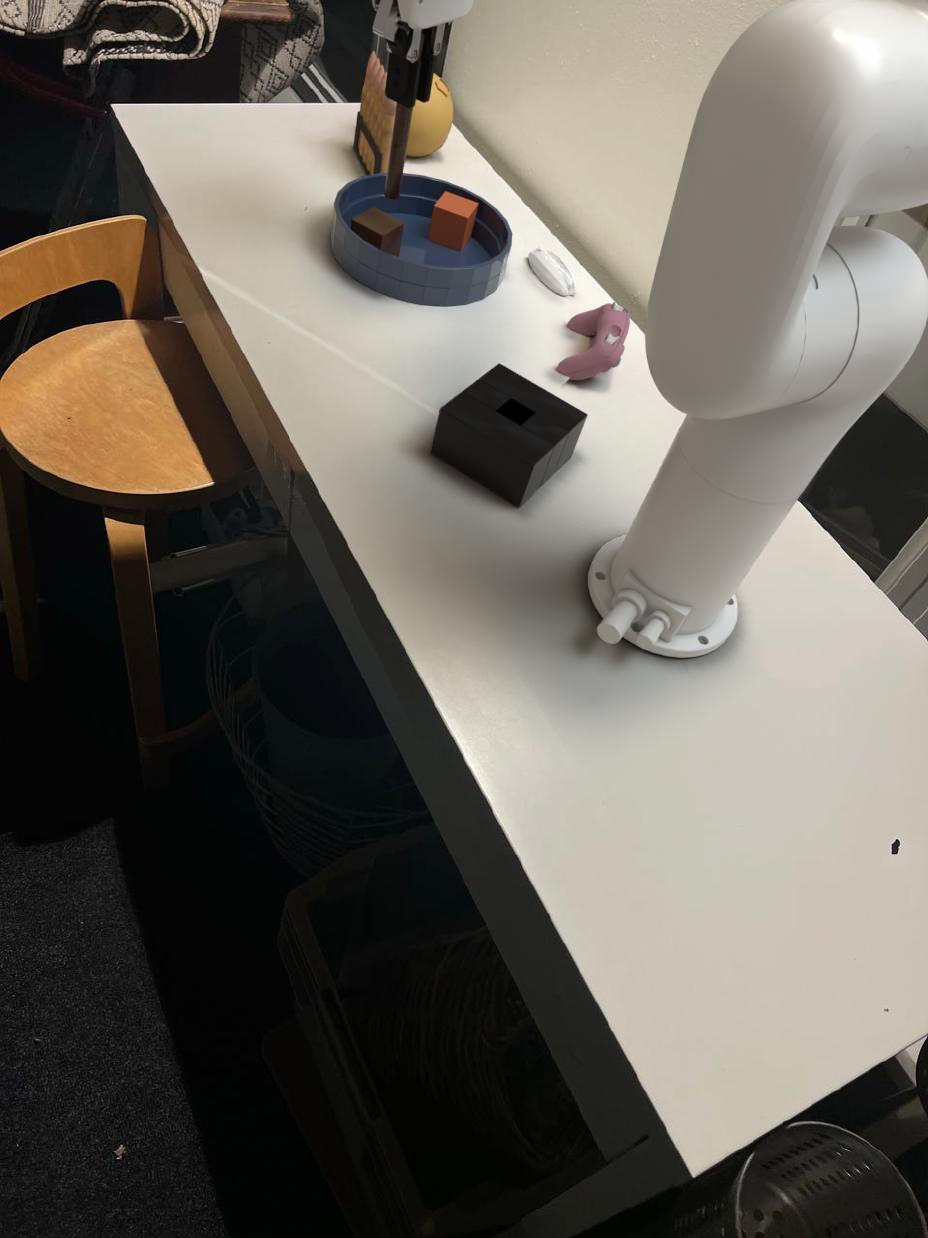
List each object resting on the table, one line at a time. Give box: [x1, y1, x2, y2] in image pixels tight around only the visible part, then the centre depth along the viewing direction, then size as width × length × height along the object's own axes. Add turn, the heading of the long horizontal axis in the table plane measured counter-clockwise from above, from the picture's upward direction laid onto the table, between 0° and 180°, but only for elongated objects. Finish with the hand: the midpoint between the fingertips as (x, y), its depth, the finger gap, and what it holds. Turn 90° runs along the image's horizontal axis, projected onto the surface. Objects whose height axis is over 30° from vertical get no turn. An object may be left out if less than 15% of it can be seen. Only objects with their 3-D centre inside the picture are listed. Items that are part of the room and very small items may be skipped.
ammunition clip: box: [352, 50, 397, 176], centre depth 105 cm, size 11×2×12 cm, turn 19°
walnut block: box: [350, 207, 404, 257], centre depth 95 cm, size 4×4×4 cm
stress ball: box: [406, 72, 454, 158], centre depth 111 cm, size 10×10×10 cm
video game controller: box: [556, 301, 631, 381], centre depth 92 cm, size 10×5×7 cm, turn 168°
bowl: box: [330, 172, 513, 307], centre depth 97 cm, size 19×19×5 cm
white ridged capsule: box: [527, 246, 579, 297], centre depth 101 cm, size 3×8×3 cm, turn 29°
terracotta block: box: [428, 191, 479, 252], centre depth 101 cm, size 4×4×4 cm
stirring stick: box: [384, 30, 424, 200], centre depth 87 cm, size 2×2×15 cm
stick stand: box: [429, 362, 589, 509], centre depth 80 cm, size 10×10×5 cm
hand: (407, 97), depth 86 cm, fingers closed on stirring stick, 1 cm apart
